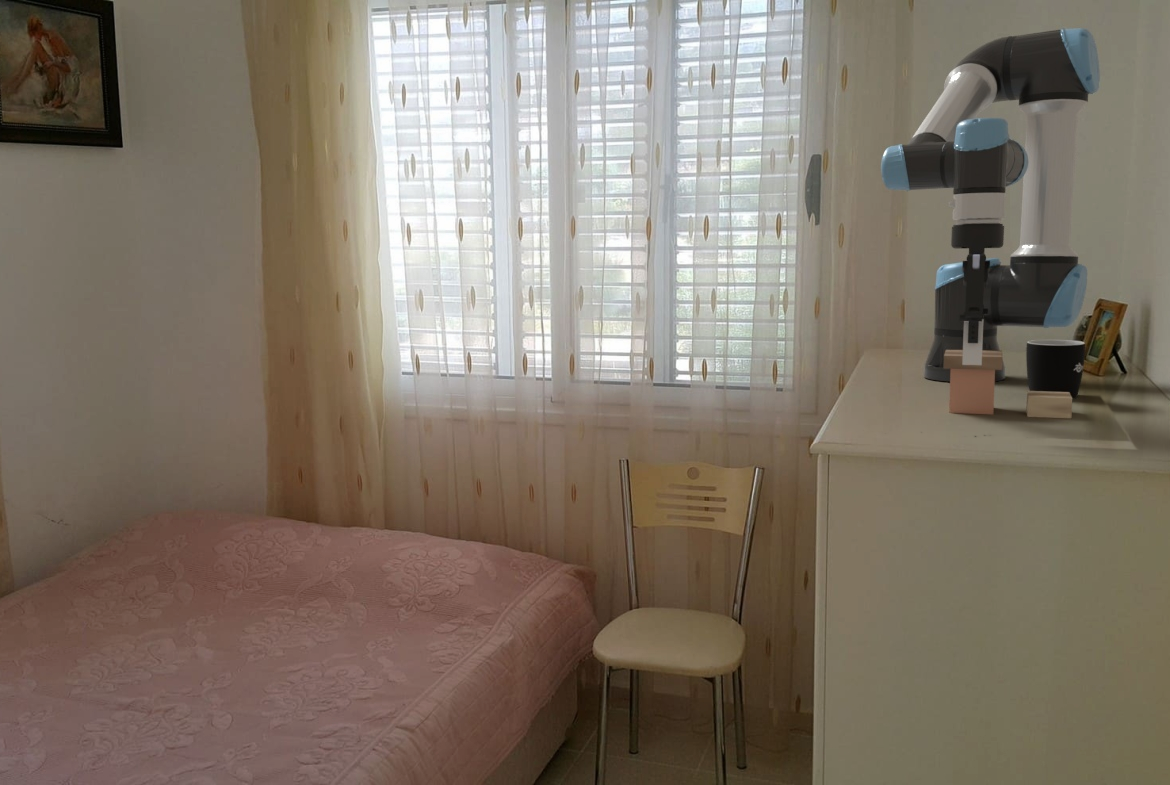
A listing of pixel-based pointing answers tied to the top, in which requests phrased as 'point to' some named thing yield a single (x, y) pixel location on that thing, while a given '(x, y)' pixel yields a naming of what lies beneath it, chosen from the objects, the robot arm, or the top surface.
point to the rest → (1049, 404)
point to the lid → (989, 362)
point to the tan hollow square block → (972, 391)
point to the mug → (1055, 365)
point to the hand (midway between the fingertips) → (972, 360)
